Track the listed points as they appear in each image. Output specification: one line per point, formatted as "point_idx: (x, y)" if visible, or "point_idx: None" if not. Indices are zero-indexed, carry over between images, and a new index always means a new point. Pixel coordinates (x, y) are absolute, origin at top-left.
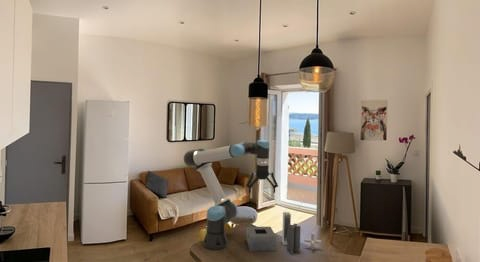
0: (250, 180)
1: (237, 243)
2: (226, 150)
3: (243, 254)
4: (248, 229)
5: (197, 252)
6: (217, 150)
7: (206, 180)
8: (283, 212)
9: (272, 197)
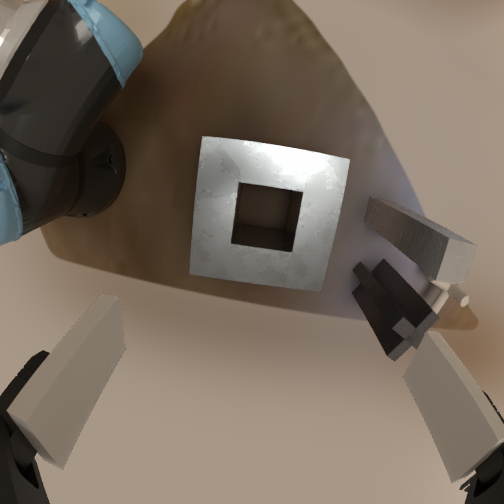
0: None
1: (167, 166)
2: None
3: (175, 266)
4: (202, 176)
5: None
6: None
7: None
8: (450, 240)
9: (410, 384)
